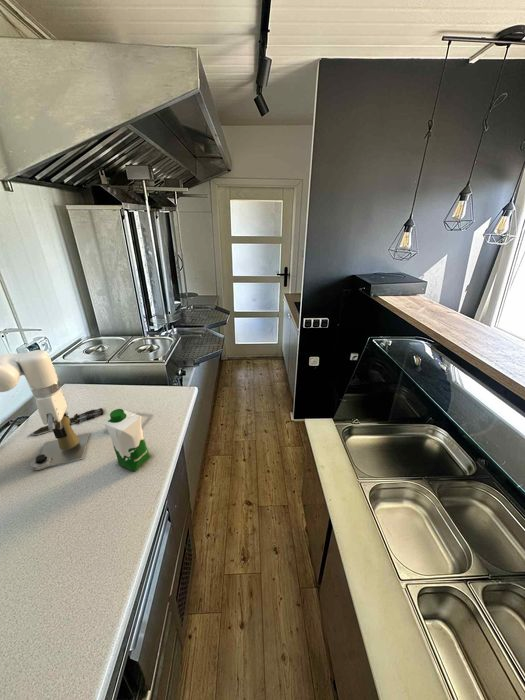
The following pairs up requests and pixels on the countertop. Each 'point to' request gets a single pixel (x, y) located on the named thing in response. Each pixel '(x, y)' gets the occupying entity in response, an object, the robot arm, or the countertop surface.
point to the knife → (44, 429)
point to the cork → (71, 437)
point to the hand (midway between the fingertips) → (64, 431)
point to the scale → (61, 453)
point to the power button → (40, 458)
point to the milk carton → (127, 438)
